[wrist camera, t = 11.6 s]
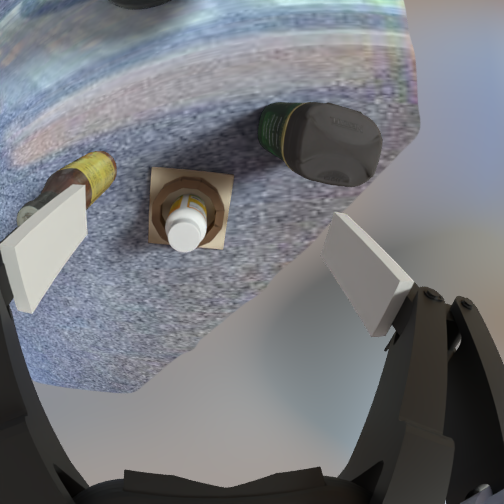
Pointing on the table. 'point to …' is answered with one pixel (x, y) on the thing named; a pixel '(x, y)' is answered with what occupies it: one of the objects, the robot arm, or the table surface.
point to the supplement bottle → (186, 222)
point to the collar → (190, 182)
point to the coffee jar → (322, 141)
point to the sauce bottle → (75, 181)
